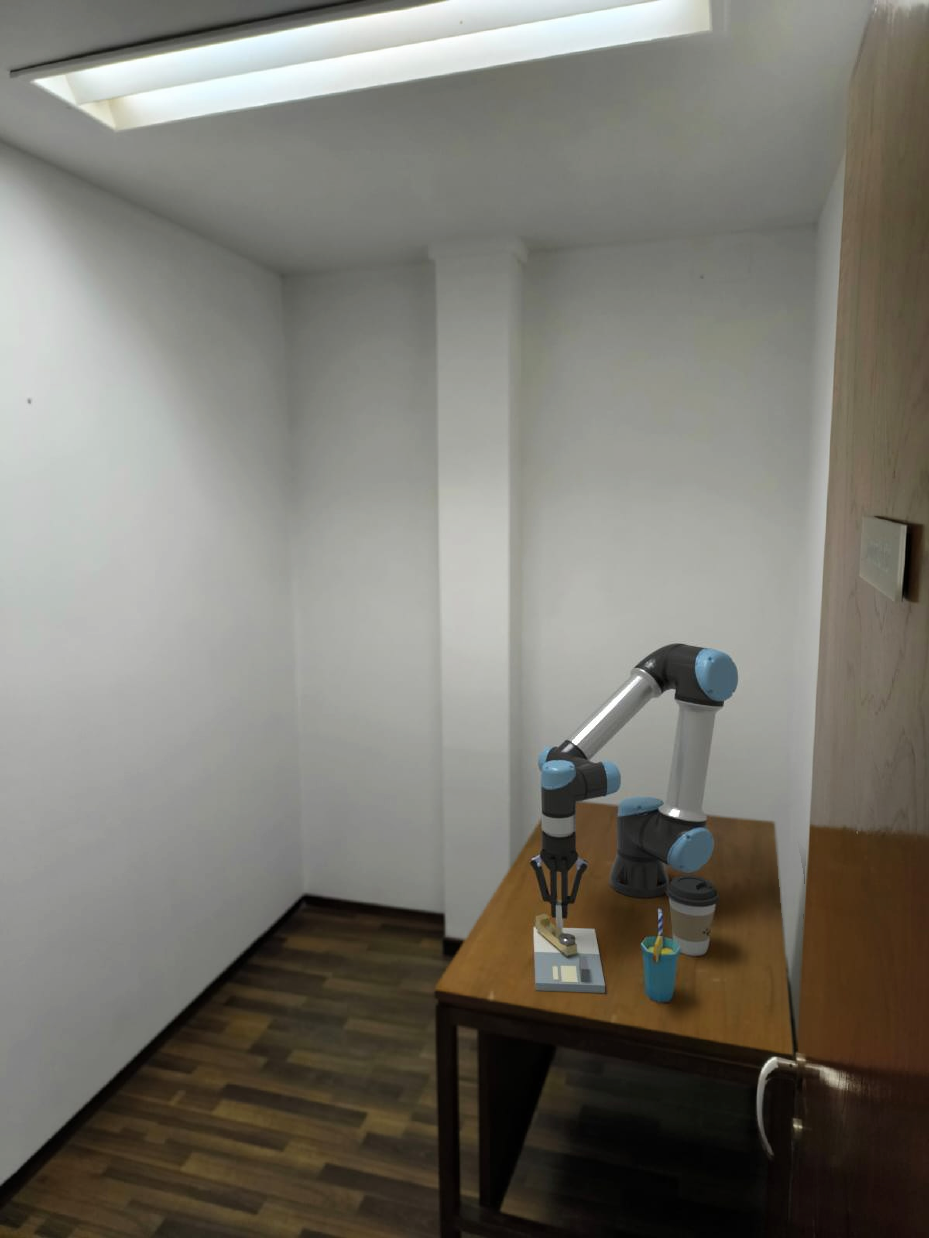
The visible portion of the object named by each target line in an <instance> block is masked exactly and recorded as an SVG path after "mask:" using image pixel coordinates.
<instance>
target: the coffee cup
mask: <svg viewBox="0 0 929 1238" xmlns="http://www.w3.org/2000/svg"><path fill="white" fill-rule="evenodd" d="M665 894H666V895H667V897H668V903H669V911H670V912H669V913H670V922H671V930H672V931H671V932H672V939H673V940H674V941H675V942H676V943H677V944H678V945H679V946H680V947H681V949H680V953H681V954H683V955H686V956H691V957H692V956H693V957H699V956H704V955H705V954H706V953H707V951H708V949H709V945H710V938H711V934H712V933H711V932H712V927H713V921H714V916H715V911H716V904H718V902H719V901H720V897H719V895H720V894H719V891H718V890H717V888H716V887H715V885H714V883H713V882H712V881H711V880H709V879H707V878H705V877H703V876H698V875H692V874H684V875H678V876H676V877H674V878H672V879H671V882H670V883H669V885H668V887H667V891H666V893H665Z"/></svg>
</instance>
